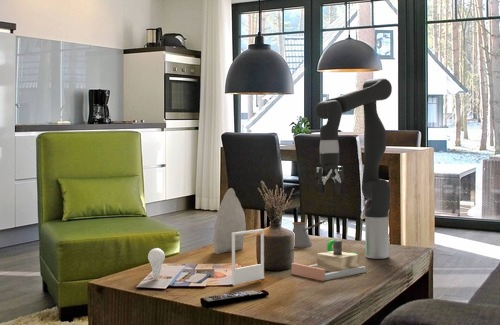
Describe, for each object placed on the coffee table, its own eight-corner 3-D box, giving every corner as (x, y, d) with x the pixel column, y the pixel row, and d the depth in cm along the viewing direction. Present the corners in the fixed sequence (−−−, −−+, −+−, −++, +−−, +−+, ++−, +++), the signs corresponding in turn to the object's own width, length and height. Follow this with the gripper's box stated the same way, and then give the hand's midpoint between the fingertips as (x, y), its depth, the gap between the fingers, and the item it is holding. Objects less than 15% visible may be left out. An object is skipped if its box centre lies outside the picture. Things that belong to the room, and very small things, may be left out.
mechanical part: (331, 260, 257) (331, 241, 256) (327, 258, 263) (327, 239, 262) (358, 259, 258) (358, 240, 258) (354, 257, 264) (354, 238, 264)
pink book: (334, 265, 244) (334, 255, 244) (365, 271, 232) (365, 261, 231) (291, 273, 229) (291, 263, 229) (322, 280, 216) (322, 269, 216)
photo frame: (261, 278, 222) (261, 228, 221) (264, 278, 221) (263, 229, 221) (231, 284, 212) (231, 232, 211) (233, 284, 211) (233, 233, 211)
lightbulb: (167, 277, 224) (167, 247, 224) (160, 280, 218) (159, 250, 218) (153, 276, 226) (152, 246, 226) (145, 279, 220) (144, 249, 220)
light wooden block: (334, 265, 241) (334, 238, 241) (358, 270, 232) (358, 241, 232) (317, 269, 235) (317, 240, 234) (340, 273, 225) (340, 244, 225)
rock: (220, 259, 259) (220, 189, 258) (206, 257, 265) (206, 188, 264) (252, 253, 273) (251, 187, 272) (237, 251, 279) (237, 186, 278)
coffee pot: (281, 250, 282) (281, 218, 281) (298, 247, 290) (298, 216, 289) (317, 256, 266) (317, 221, 266) (333, 252, 274) (333, 219, 274)
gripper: (334, 151, 245) (334, 191, 246) (309, 152, 236) (310, 194, 237) (348, 151, 240) (349, 192, 240) (324, 152, 230) (325, 195, 231)
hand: (330, 193), depth 238 cm, fingers open, 8 cm apart
